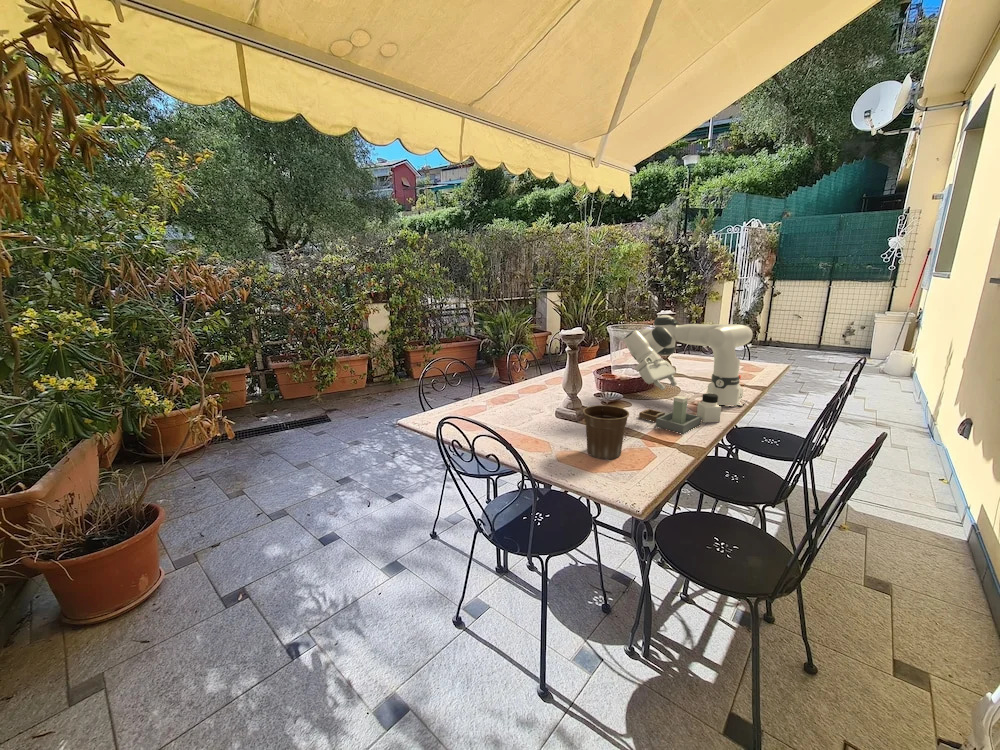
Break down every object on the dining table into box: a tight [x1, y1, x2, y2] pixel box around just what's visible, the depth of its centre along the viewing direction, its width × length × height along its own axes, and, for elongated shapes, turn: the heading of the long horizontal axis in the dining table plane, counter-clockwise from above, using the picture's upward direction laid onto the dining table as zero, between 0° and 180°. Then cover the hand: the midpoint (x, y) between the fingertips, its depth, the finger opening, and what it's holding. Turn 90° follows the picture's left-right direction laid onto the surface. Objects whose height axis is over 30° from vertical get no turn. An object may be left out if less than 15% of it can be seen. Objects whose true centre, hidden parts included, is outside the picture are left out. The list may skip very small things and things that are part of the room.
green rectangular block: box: [672, 395, 688, 425], centre depth 176 cm, size 4×4×12 cm
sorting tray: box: [655, 410, 702, 435], centre depth 177 cm, size 16×12×4 cm
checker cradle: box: [638, 408, 666, 423], centre depth 188 cm, size 8×8×3 cm
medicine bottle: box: [696, 392, 722, 423], centre depth 183 cm, size 7×7×12 cm
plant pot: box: [582, 404, 630, 460], centre depth 151 cm, size 16×16×16 cm
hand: (669, 387), depth 178 cm, fingers open, 8 cm apart
